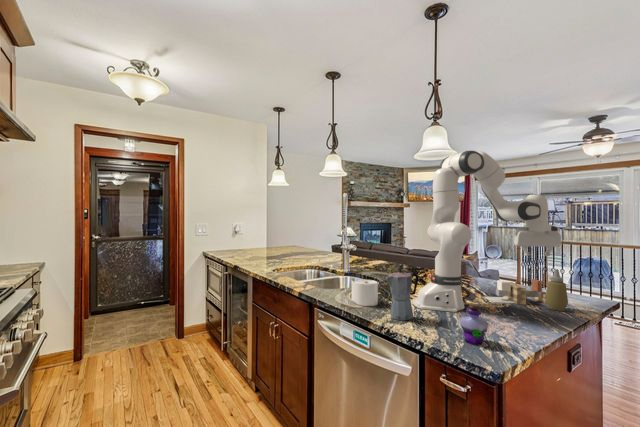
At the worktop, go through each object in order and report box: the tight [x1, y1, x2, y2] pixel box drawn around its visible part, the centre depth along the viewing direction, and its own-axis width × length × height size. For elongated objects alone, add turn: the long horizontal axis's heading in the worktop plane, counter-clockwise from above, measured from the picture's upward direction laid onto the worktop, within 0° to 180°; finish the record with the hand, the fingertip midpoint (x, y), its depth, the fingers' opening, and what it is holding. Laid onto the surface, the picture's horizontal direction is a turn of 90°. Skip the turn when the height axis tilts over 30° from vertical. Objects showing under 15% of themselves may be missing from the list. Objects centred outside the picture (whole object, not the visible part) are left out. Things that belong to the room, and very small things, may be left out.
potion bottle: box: [459, 304, 490, 346], centre depth 98 cm, size 9×9×12 cm
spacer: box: [496, 279, 512, 291], centre depth 147 cm, size 4×4×4 cm
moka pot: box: [385, 267, 420, 321], centre depth 122 cm, size 10×15×20 cm, turn 113°
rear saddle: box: [534, 291, 547, 305], centre depth 146 cm, size 4×8×4 cm, turn 175°
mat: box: [484, 296, 517, 305], centre depth 147 cm, size 10×10×1 cm
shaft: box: [495, 278, 543, 298], centre depth 147 cm, size 20×4×8 cm, turn 85°
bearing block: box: [503, 281, 527, 306], centre depth 147 cm, size 4×12×8 cm, turn 175°
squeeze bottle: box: [545, 268, 569, 312], centre depth 134 cm, size 8×8×18 cm
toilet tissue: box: [350, 279, 379, 307], centre depth 141 cm, size 11×12×10 cm
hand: (537, 255), depth 146 cm, fingers open, 8 cm apart
